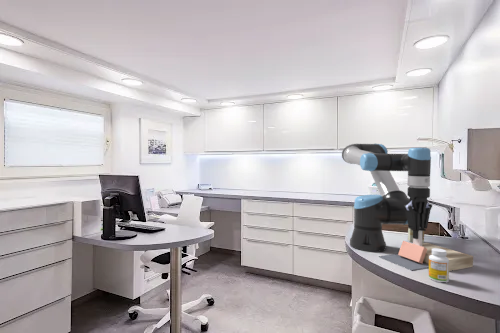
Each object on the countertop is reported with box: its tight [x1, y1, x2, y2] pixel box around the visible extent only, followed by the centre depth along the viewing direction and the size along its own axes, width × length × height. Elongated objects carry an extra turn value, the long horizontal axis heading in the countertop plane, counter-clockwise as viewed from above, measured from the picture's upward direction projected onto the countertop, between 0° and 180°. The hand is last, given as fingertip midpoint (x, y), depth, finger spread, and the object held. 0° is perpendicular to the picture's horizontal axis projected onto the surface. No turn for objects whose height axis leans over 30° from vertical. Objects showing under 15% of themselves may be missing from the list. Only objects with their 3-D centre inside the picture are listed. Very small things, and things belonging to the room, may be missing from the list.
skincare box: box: [407, 228, 425, 243], centre depth 133 cm, size 6×4×12 cm
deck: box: [422, 242, 474, 272], centre depth 107 cm, size 18×14×4 cm
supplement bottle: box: [428, 248, 450, 283], centre depth 89 cm, size 5×5×10 cm
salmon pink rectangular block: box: [397, 240, 427, 264], centre depth 106 cm, size 9×6×2 cm
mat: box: [378, 253, 429, 271], centre depth 105 cm, size 15×10×1 cm
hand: (417, 246), depth 107 cm, fingers closed
